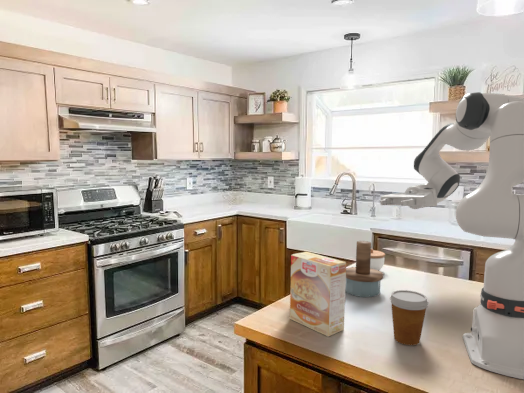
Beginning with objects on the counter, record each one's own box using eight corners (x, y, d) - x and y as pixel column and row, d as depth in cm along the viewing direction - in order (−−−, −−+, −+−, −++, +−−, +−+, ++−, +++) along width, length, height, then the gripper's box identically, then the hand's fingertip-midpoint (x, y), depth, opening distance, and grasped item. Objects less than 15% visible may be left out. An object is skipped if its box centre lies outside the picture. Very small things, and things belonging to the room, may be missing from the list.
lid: (385, 283, 130) (386, 248, 128) (342, 280, 133) (343, 245, 131) (381, 271, 143) (382, 239, 142) (342, 269, 146) (343, 237, 145)
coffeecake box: (288, 319, 114) (290, 254, 112) (305, 313, 118) (307, 250, 116) (328, 337, 102) (330, 265, 100) (344, 330, 107) (347, 261, 105)
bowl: (374, 299, 130) (375, 283, 130) (340, 292, 136) (340, 277, 136) (383, 289, 141) (383, 274, 140) (350, 283, 147) (351, 269, 146)
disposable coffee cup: (402, 351, 95) (405, 304, 94) (380, 334, 105) (382, 291, 103) (434, 346, 98) (437, 300, 97) (410, 329, 107) (412, 288, 106)
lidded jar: (385, 275, 157) (386, 252, 156) (358, 273, 160) (359, 251, 159) (383, 268, 168) (383, 246, 167) (357, 266, 170) (358, 245, 169)
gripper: (393, 189, 156) (369, 194, 149) (439, 188, 138) (414, 194, 131) (395, 204, 157) (371, 210, 150) (441, 205, 139) (416, 213, 132)
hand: (391, 203), depth 140 cm, fingers open, 8 cm apart
